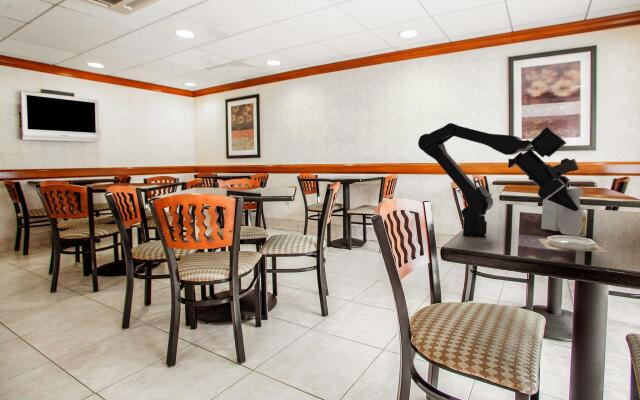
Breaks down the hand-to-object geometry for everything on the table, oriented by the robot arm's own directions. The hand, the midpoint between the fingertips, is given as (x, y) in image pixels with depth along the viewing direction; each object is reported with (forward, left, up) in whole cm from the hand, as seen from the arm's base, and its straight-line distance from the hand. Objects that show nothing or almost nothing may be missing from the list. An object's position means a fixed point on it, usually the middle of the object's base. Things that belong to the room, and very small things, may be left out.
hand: (577, 209), depth 102 cm
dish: (-1, 0, -10) cm, 10 cm away
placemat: (-1, 0, -11) cm, 11 cm away
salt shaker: (-1, 0, -7) cm, 7 cm away
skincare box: (+1, +24, -11) cm, 27 cm away
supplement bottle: (+4, +16, -11) cm, 20 cm away
